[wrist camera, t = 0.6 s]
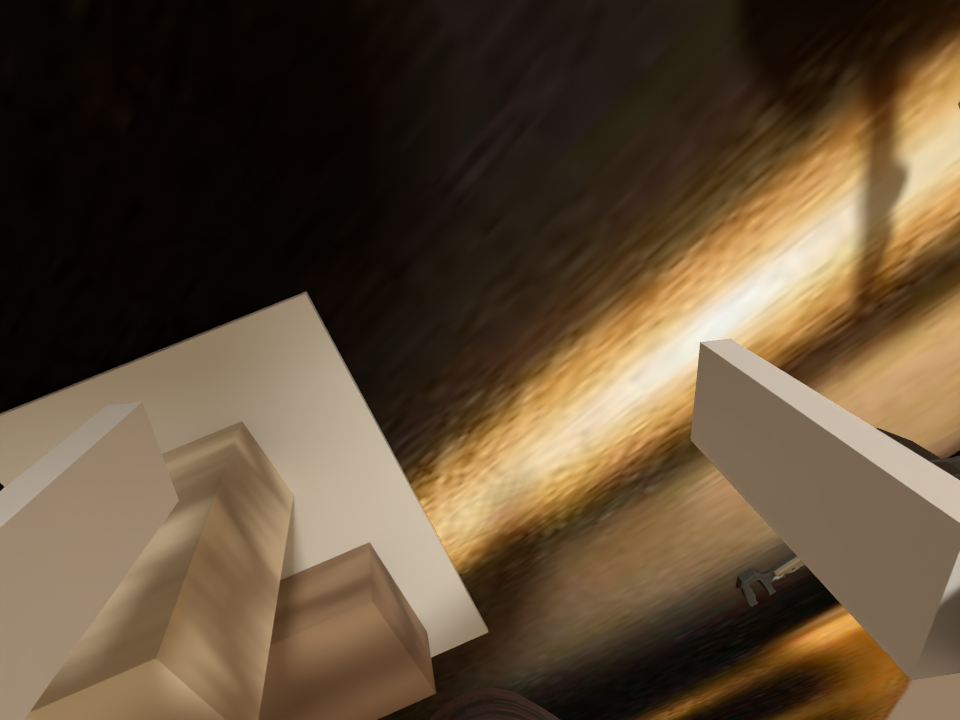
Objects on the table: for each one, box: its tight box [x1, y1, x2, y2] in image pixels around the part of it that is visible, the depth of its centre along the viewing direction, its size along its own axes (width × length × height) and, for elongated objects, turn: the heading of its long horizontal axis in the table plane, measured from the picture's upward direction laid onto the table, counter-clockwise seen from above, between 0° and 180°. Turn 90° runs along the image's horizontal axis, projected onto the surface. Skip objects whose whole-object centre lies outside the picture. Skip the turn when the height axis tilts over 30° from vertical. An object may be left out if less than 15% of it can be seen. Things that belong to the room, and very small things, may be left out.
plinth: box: [258, 542, 436, 720], centre depth 29 cm, size 9×9×4 cm
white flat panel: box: [0, 292, 488, 657], centre depth 28 cm, size 26×16×1 cm, turn 19°
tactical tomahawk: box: [737, 455, 960, 607], centre depth 40 cm, size 21×7×1 cm, turn 122°
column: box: [24, 421, 293, 720], centre depth 20 cm, size 5×5×12 cm
